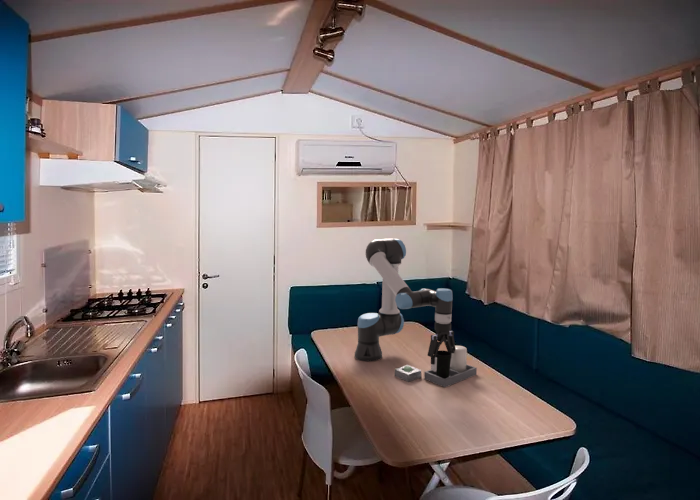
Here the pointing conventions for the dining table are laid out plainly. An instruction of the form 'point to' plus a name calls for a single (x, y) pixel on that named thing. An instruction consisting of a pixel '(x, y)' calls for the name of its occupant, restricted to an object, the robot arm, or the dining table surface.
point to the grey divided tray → (450, 376)
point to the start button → (407, 369)
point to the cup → (443, 363)
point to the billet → (459, 359)
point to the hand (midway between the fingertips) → (441, 368)
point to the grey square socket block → (407, 373)
